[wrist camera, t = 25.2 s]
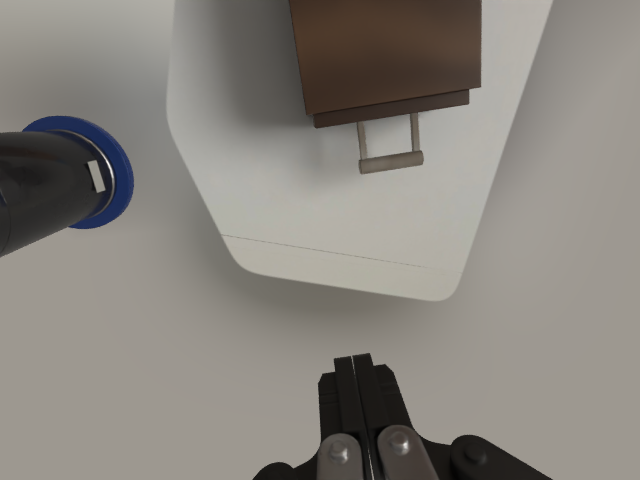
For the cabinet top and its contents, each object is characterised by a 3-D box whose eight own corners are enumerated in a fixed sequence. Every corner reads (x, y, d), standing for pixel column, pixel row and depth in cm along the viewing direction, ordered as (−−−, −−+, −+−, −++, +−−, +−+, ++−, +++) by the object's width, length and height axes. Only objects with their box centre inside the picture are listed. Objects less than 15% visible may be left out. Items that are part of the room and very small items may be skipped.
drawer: (445, 155, 37) (469, 161, 31) (321, 174, 37) (323, 184, 32) (439, -69, 31) (468, -110, 25) (289, -44, 31) (285, -79, 25)
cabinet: (446, 93, 36) (481, 87, 29) (306, 115, 36) (306, 115, 29) (441, -97, 31) (482, -162, 23) (278, -69, 31) (269, -126, 24)
